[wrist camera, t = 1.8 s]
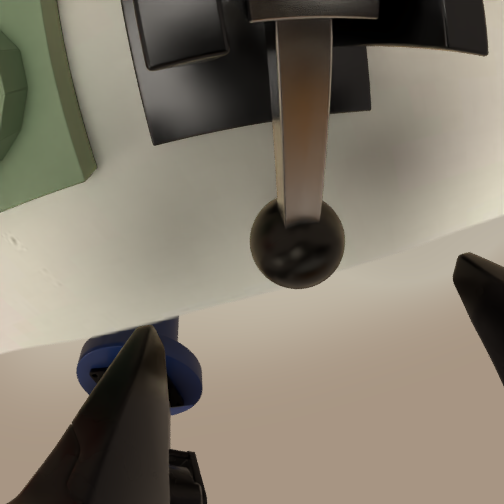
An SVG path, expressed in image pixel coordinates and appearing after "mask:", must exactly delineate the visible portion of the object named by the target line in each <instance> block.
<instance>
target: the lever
mask: <svg viewBox="0 0 504 504" xmlns="http://www.w3.org/2000/svg"><path fill="white" fill-rule="evenodd" d="M232 1H233V3H234V4H235V5H236V6H237V8H238V9H239V10H240V11H241V13H242V14H243V15H244V17H245V18H246V19H247V20H248V22H250V23H258V22H264V23H265V34H266V46H267V58H268V70H269V83H270V96H271V109H272V124H273V139H274V154H275V171H276V188H277V198H276V199H274V200H272V201H271V202H269V203H268V204H267V205H266V206H265V207H264V208H263V209H262V210H261V211H260V212H259V213H258V215H257V217H256V218H255V220H254V223H253V225H252V228H251V233H250V249H251V253H252V256H253V259H254V262H255V264H256V265H257V267H258V268H259V270H260V271H261V272H262V273H263V274H264V275H265V277H267V278H268V279H269V280H271V281H272V282H274V283H276V284H278V285H280V286H283V287H286V288H291V289H304V288H309V287H313V286H315V285H318V284H320V283H321V282H323V281H325V280H326V279H327V278H328V277H330V276H331V275H332V274H333V272H334V271H335V270H336V269H337V267H338V265H339V264H340V262H341V259H342V257H343V253H344V248H345V234H344V229H343V226H342V223H341V221H340V219H339V217H338V215H337V214H336V213H335V211H334V210H333V209H332V208H331V207H330V206H329V205H328V204H327V203H325V202H324V201H322V197H323V187H324V176H325V165H326V153H327V140H328V126H329V110H330V92H331V70H332V37H333V18H357V19H378V18H379V14H380V0H232Z"/></svg>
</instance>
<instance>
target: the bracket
mask: <svg viewBox="0 0 504 504" xmlns="http://www.w3.org/2000/svg"><path fill="white" fill-rule="evenodd" d="M121 5H122V11H123V16H124V21H125V27H126V32H127V37H128V41H129V46H130V51H131V56H132V60H133V65H134V70H135V74H136V78H137V83H138V87H139V91H140V96H141V100H142V104H143V108H144V112H145V116H146V120H147V124H148V128H149V132H150V136H151V139H152V143H153V145H154V146H156V145H160V144H164V143H168V142H172V141H176V140H180V139H184V138H189V137H193V136H198V135H202V134H207V133H212V132H216V131H221V130H226V129H232V128H237V127H242V126H248V125H254V124H260V123H266V122H272V109H271V96H270V83H269V70H268V58H267V46H266V34H265V23H264V22H258V23H250V22H248V20H247V19H246V18H245V17H244V15H243V14H242V13H241V11H240V10H239V9H238V8H237V6H236V5H235V4H234V3H233V1H232V0H121ZM366 46H384V47H408V48H423V49H434V50H443V51H452V52H460V53H466V54H473V55H479V56H487V55H488V39H487V28H486V19H485V11H484V4H483V0H380V14H379V18H378V19H357V18H333V37H332V70H331V92H330V110H329V114H335V113H346V112H358V111H370V110H371V96H370V82H369V70H368V59H367V50H366Z"/></svg>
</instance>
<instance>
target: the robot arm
mask: <svg viewBox="0 0 504 504" xmlns="http://www.w3.org/2000/svg"><path fill="white" fill-rule="evenodd" d="M453 282H454V285H455V287H456V289H457V291H458V293H459V295H460V297H461V300H462V302H463V304H464V306H465V308H466V310H467V313H468V315H469V317H470V319H471V322H472V323H473V325H474V327H475V329H476V331H477V333H478V335H479V337H480V338H481V340H482V342H483V344H484V346H485V348H486V350H487V352H488V354H489V356H490V358H491V360H492V362H493V364H494V366H495V368H496V370H497V373H498V375H499V377H500V379H501V381H502V383H503V386H504V267H502V266H500V265H498V264H496V263H493V262H491V261H489V260H487V259H485V258H482V257H480V256H478V255H475V254H473V253H470V252H468V253H464V254H461V255H459V256H458V258H457V262H456V266H455V270H454V274H453ZM89 375H90V377H91V378H92V379H93V380H94V381H95V383H96V384H97V385H96V387H95V388H94V390H93V391H92V393H91V394H90V395H89V397H88V398H87V400H86V402H85V403H84V404H83V406H82V407H81V409H80V410H79V412H78V414H77V415H76V416H75V418H74V420H73V421H72V424H71V425H70V426H69V427H68V429H67V430H66V432H65V433H64V435H63V436H62V438H61V439H60V441H59V442H58V444H57V445H56V447H55V448H54V449H53V451H52V452H51V454H50V455H49V456H48V457H47V459H46V460H45V462H44V463H43V464H42V465H41V467H40V468H39V469H38V471H37V472H36V474H34V476H33V477H32V478H31V480H30V481H29V482H28V484H27V485H26V486H25V487H24V489H23V490H22V491H21V493H20V494H19V495H18V496H17V497H16V498H14V499H13V500H12V501H10V502H9V503H7V504H207V497H206V492H205V488H204V485H203V481H202V478H201V474H200V470H199V466H198V463H197V459H196V455H195V452H190V451H187V452H184V451H178V450H173V449H170V417H171V408H174V407H182V406H184V400H183V398H182V396H181V395H180V393H179V392H178V390H177V389H176V387H175V385H174V384H173V382H172V381H171V379H170V377H169V376H168V374H167V373H166V361H165V350H164V346H163V344H162V342H161V340H160V338H159V336H158V334H157V332H156V330H155V328H154V327H153V326H152V325H145V326H139V327H137V328H136V329H135V331H134V332H133V334H132V335H131V336H130V338H129V339H128V341H127V342H126V343H125V345H124V346H123V348H122V349H121V351H120V352H119V353H118V355H117V356H116V358H115V359H114V361H113V362H112V363H111V365H110V366H109V367H103V368H92V369H91V370H90V373H89Z"/></svg>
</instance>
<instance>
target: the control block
mask: <svg viewBox="0 0 504 504" xmlns="http://www.w3.org/2000/svg"><path fill="white" fill-rule="evenodd" d="M96 169H97V166H96V163H95V160H94V157H93V154H92V150H91V147H90V144H89V141H88V138H87V134H86V131H85V127H84V124H83V120H82V117H81V113H80V110H79V106H78V102H77V98H76V95H75V91H74V87H73V83H72V78H71V74H70V70H69V65H68V61H67V56H66V52H65V47H64V42H63V36H62V31H61V26H60V20H59V14H58V7H57V1H56V0H0V212H3V211H5V210H8V209H10V208H13V207H15V206H18V205H20V204H23V203H26V202H28V201H31V200H33V199H36V198H39V197H42V196H44V195H47V194H50V193H53V192H56V191H58V190H61V189H64V188H67V187H70V186H73V185H76V184H79V183H82V182H85V181H86V180H87V179H88V178H89V177H90V175H91V174H92V173H93V172H94V171H95V170H96Z"/></svg>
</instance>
